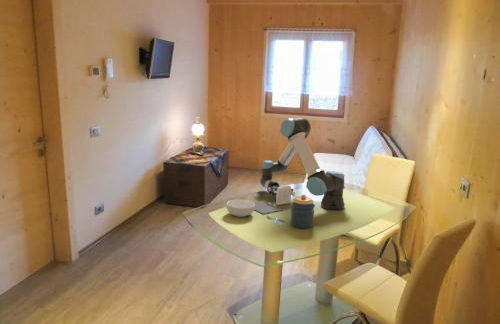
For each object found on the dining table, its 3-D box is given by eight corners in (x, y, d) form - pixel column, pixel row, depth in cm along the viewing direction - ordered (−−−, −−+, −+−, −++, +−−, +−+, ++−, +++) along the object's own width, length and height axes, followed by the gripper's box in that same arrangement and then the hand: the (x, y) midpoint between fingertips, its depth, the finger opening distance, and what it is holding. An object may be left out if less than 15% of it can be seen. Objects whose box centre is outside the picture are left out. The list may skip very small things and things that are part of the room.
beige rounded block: (287, 201, 257) (288, 183, 255) (291, 203, 254) (292, 185, 251) (275, 203, 252) (275, 185, 249) (279, 205, 248) (280, 187, 246)
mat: (282, 210, 239) (282, 209, 239) (263, 214, 231) (263, 213, 231) (262, 201, 255) (262, 200, 255) (244, 205, 246) (244, 204, 246)
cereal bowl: (235, 221, 218) (235, 209, 216) (221, 212, 232) (221, 201, 230) (260, 217, 227) (260, 205, 225) (245, 208, 240) (245, 197, 239)
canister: (290, 219, 224) (291, 190, 220) (312, 221, 223) (314, 192, 219) (290, 228, 211) (291, 197, 207) (313, 230, 210) (316, 198, 206)
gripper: (286, 190, 273) (302, 199, 252) (257, 192, 264) (270, 202, 244) (287, 179, 271) (302, 188, 251) (257, 181, 263) (271, 190, 243)
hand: (286, 195), depth 248 cm, fingers closed on beige rounded block, 10 cm apart
